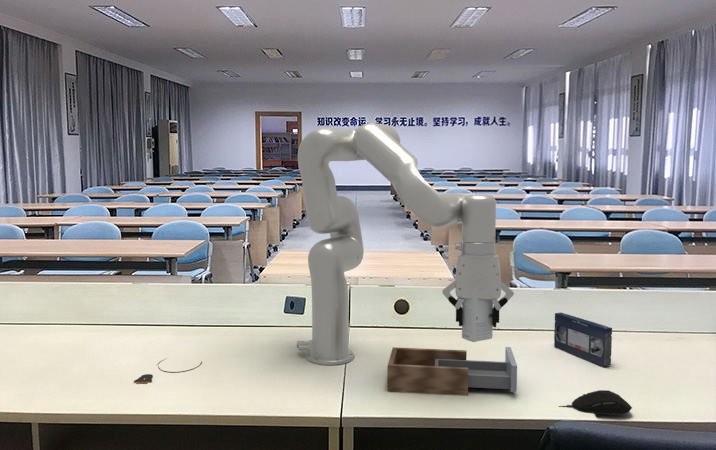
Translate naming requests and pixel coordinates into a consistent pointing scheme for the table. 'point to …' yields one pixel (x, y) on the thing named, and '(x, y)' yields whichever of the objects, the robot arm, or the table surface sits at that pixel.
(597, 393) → the gaming mouse
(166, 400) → the table surface
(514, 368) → the tray
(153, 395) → the table surface
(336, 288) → the robot arm
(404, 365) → the housing
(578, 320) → the vhs cassette tape
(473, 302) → the skincare box
